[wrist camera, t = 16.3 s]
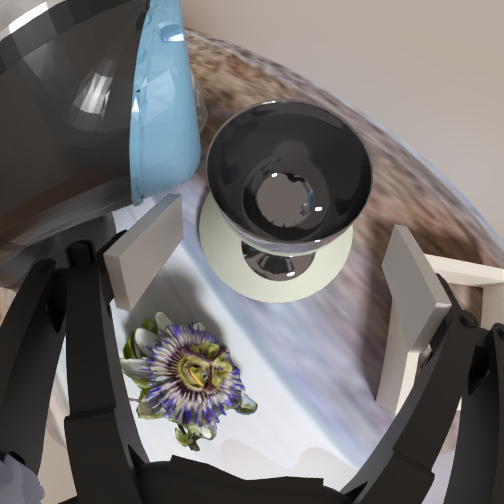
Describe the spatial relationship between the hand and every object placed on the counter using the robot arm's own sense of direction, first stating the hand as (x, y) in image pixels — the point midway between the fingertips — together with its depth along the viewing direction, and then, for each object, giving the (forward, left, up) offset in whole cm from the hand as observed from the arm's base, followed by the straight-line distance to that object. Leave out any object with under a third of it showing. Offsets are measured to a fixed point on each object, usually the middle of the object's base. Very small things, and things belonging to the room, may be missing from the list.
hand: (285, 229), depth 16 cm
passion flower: (-7, -12, -13) cm, 19 cm away
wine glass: (0, +2, -12) cm, 12 cm away
